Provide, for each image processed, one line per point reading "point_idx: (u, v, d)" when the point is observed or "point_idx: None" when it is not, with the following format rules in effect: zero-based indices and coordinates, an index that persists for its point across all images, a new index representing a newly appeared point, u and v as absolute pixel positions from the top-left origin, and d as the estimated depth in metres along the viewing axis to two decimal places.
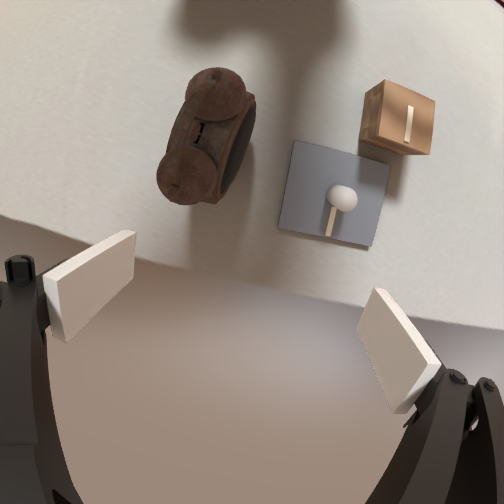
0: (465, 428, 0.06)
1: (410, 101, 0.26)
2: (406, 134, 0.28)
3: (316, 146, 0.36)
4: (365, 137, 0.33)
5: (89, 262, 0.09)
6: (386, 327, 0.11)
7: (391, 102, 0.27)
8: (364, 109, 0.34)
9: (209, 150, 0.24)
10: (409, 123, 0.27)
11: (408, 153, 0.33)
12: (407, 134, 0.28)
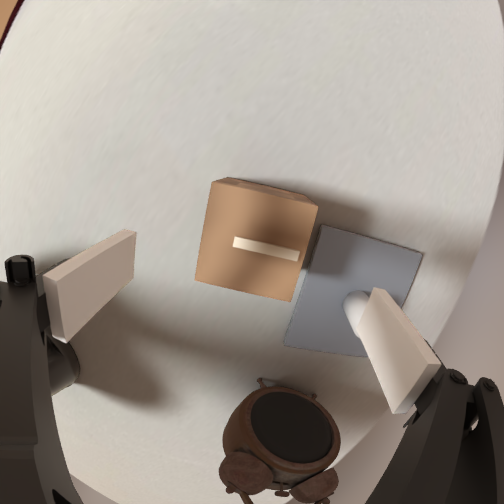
0: (464, 428, 0.06)
1: (224, 238, 0.21)
2: (286, 255, 0.21)
3: (293, 324, 0.31)
4: None
5: (89, 262, 0.09)
6: (385, 327, 0.11)
7: (233, 275, 0.22)
8: None
9: (298, 479, 0.21)
10: (266, 248, 0.21)
11: None
12: (286, 254, 0.21)
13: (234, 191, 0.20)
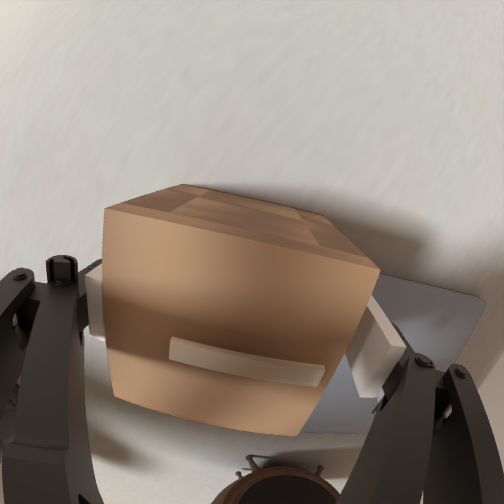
0: (438, 416, 0.07)
1: (149, 339, 0.08)
2: (293, 378, 0.08)
3: None
4: None
5: None
6: None
7: (180, 401, 0.09)
8: None
9: None
10: (246, 367, 0.08)
11: None
12: (294, 376, 0.08)
13: (158, 232, 0.07)
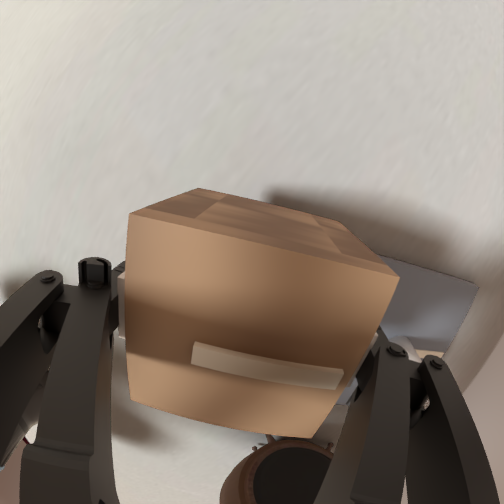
0: (416, 408, 0.08)
1: (171, 344, 0.08)
2: (313, 382, 0.08)
3: None
4: None
5: None
6: None
7: (199, 404, 0.09)
8: None
9: None
10: (268, 371, 0.08)
11: None
12: (313, 380, 0.08)
13: (185, 239, 0.07)
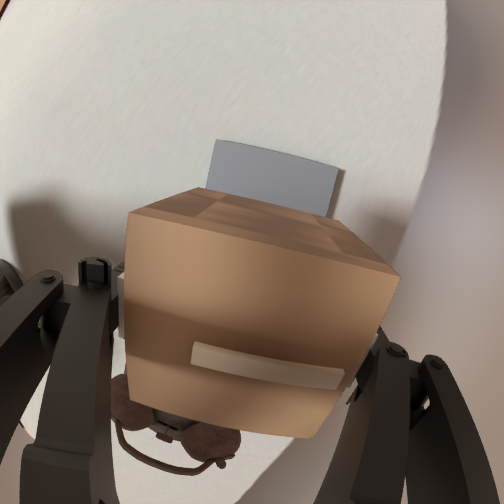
0: (416, 408, 0.08)
1: (171, 344, 0.08)
2: (313, 382, 0.08)
3: None
4: None
5: None
6: None
7: (199, 404, 0.09)
8: None
9: (184, 422, 0.21)
10: (268, 371, 0.08)
11: None
12: (314, 380, 0.08)
13: (184, 238, 0.07)
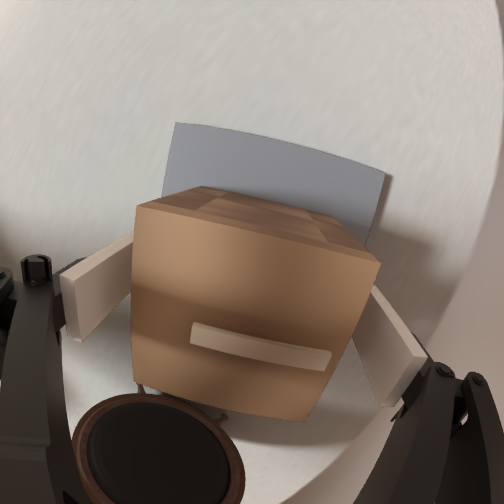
0: (454, 423, 0.07)
1: (173, 325, 0.09)
2: (303, 362, 0.09)
3: None
4: None
5: (105, 262, 0.10)
6: (374, 321, 0.12)
7: (198, 385, 0.10)
8: None
9: None
10: (260, 351, 0.09)
11: None
12: (303, 360, 0.09)
13: (185, 227, 0.08)
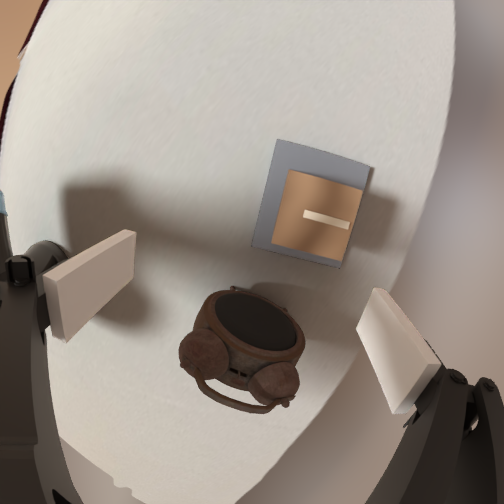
0: (464, 428, 0.06)
1: (296, 211, 0.28)
2: (340, 225, 0.28)
3: (257, 224, 0.37)
4: None
5: (89, 262, 0.09)
6: (385, 327, 0.11)
7: (301, 239, 0.29)
8: None
9: (255, 367, 0.27)
10: (326, 219, 0.28)
11: None
12: (340, 224, 0.28)
13: (305, 177, 0.27)
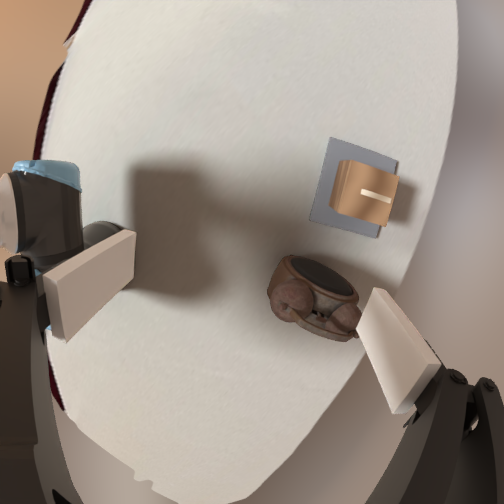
0: (465, 428, 0.06)
1: (356, 189, 0.37)
2: (385, 200, 0.36)
3: (315, 203, 0.46)
4: None
5: (89, 262, 0.09)
6: (385, 327, 0.11)
7: (359, 210, 0.37)
8: None
9: (331, 307, 0.36)
10: (376, 196, 0.36)
11: None
12: (385, 199, 0.36)
13: (362, 165, 0.35)
